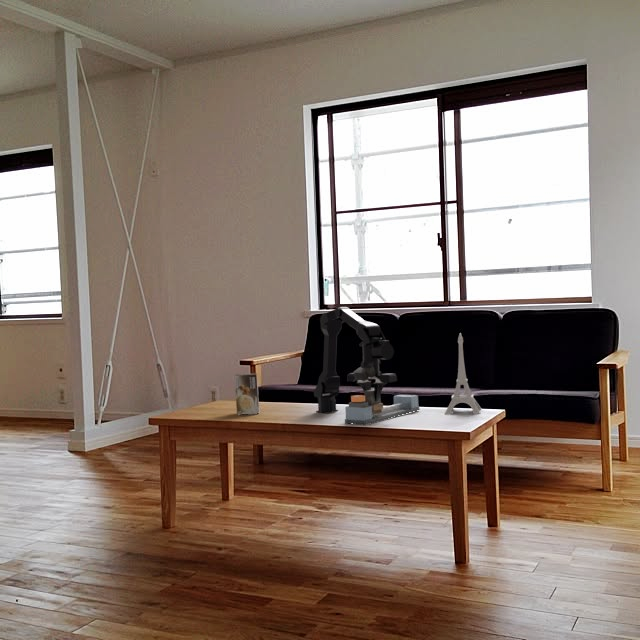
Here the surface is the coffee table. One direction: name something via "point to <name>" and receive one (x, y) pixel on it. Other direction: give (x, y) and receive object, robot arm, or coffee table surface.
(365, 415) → the rail
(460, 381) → the eiffel tower
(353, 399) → the button
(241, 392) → the coffee box
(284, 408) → the coffee table surface
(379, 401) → the carriage
